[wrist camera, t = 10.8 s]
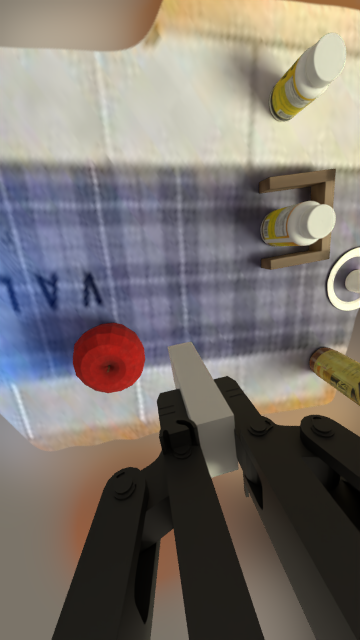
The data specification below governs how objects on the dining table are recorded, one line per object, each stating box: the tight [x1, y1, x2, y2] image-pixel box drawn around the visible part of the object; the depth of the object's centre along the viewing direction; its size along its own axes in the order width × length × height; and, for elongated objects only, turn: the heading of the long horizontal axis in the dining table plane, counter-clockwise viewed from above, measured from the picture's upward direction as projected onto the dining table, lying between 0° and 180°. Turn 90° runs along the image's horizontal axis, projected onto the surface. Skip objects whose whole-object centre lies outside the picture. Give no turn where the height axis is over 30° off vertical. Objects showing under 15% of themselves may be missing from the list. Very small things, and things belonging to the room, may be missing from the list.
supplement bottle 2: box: [261, 201, 335, 246], centre depth 33 cm, size 6×6×10 cm
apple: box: [73, 323, 145, 393], centre depth 34 cm, size 10×10×11 cm
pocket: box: [259, 169, 336, 270], centre depth 37 cm, size 13×10×3 cm
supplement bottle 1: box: [269, 33, 346, 122], centre depth 28 cm, size 5×5×8 cm
